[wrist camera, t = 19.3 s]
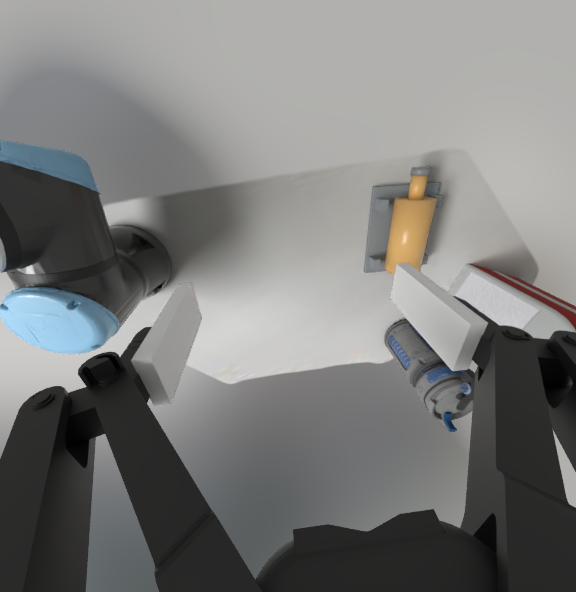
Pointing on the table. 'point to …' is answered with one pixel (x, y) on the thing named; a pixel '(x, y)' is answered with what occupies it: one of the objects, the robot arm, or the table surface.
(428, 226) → the amber bottle
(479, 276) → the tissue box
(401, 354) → the smoke grenade
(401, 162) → the table surface
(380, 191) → the u rest
